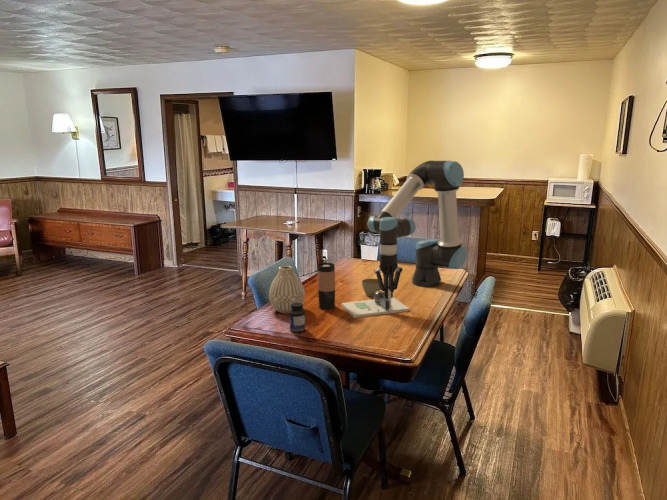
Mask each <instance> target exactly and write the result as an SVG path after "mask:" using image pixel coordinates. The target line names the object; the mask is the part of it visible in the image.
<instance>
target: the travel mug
mask: <svg viewBox="0 0 667 500" xmlns="http://www.w3.org/2000/svg"><path fill="white" fill-rule="evenodd" d="M335 267H336V266H335V263H332V262H321V263H319V264H317V291H318V293H317V294H318V307H319V308H318V309H320V310H324V311H325V310H326V311H329V310H333V309H335V306H336V277H335V276H336V274H335V269H336V268H335Z"/></svg>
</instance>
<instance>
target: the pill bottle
mask: <svg viewBox="0 0 667 500" xmlns="http://www.w3.org/2000/svg"><path fill="white" fill-rule="evenodd" d="M303 307H304V303H303V304H302V303H299V302H296V303H292V304H291V308H292V309H291V310H290V312H289V313H288V314H289V331H290V332H291V333H294V334H301V333H303V332H305V330H306V311H305V310H304V308H303Z"/></svg>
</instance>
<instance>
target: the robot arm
mask: <svg viewBox="0 0 667 500" xmlns="http://www.w3.org/2000/svg"><path fill="white" fill-rule="evenodd" d="M464 176H465V174H464V168H463V167H462V165H461V164H460V163H459V162H458V161H456V160H455V161H453V160H427V161H424V162H422V163H420V164H419V165H417V166H416V167H415V168H414V169H413V170H412V169H411V171H410V172H409V173H408V175H407V176H406V180H405V181H404V183H403V184H402V185H401V186H400V188H399V189H398V190H397V191H396V192H395V194H394V195H393V196H392V198H390V200H389V201H388V202H387V203H386V205H384V207H383V208H382V210H381V211H380V212H379V214H377V215H371V216H370V217H369V218H368V220H367V224H366V225H367V229H368V230H369V231H370V232H373V233H376V234H379V266H378V267H377V269H374V270H373V272H374V273H375V275H376V279H378V283H379V287H380V291H382V292H384V298H385V299H387V300H388V301H389V306H391V298H393V297H394V295H393V294H394V292H395V290H398V287H399V282H400V279H401V278H400V277H401V274H402V272H403V269H404V268H402V267H401V266H399V264H398V254H397V253H398V239H399V238H402V237H407V236H410V235H413V234H414V233H415V232H416V225H417V224H416V223H415V221H414V219H412V218H410V217H409V218H407V217H406V218H405V217H404V218H398V217H399V215H400V214H401V213H402V211H403V210H404V209H405V208H406V207H407V205H408V204H409V203H410V202H411V200H412V199H413V198H415V197H414V196H415V195H416V194H417V193H418V192H419V191H421V190H423V189H424V187H426V186H430V185H431V186H433V188H434V191H435V192H436V193H437V202H438V203H437V204H438V215H439V217H438V218H439V234H440V235H439V236H440V240H439V239H437V238H436V239H433V238H431V239H423V240H419V241H417V243H416V246H415V247H416V248H415V269H414V272H413V275H412V278H411V283H412V284H413V285H415V286H418V287H426V288H427V287H429V288H430V287H439V286H440V285H441V284H442V277H441V274H440V271H439V270H440V269H439V267H440V268H445V269H446V268H447V269H450V270H459V269H460V268H462V267H463V266H464V265H465V263H466V261H467V258H468V257H467V256H468V251H467V248H466V247H465V246H463V245H462V240H461V239H459V228H458V227H459V226H458V224H459V223H458V204H457V203H458V202H457V192H458V191H459V190H460V186H462V185H463V183H464V178H465V177H464ZM381 273H382V275H381ZM382 276H383V277H382Z"/></svg>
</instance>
